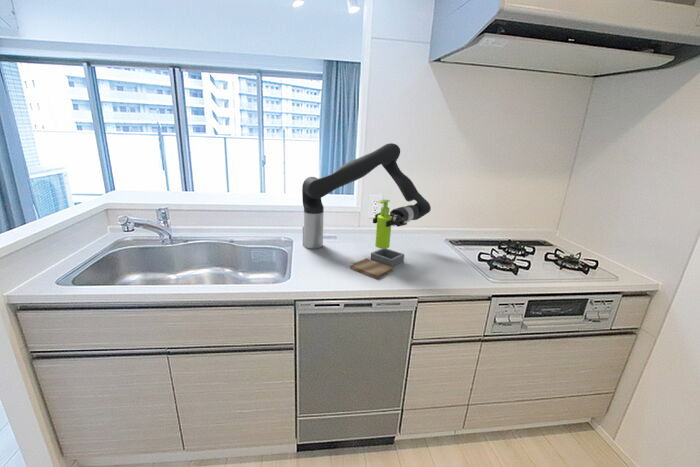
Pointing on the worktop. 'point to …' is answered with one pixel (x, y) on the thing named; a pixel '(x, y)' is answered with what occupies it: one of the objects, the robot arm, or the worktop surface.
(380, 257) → the tray
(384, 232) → the soap dispenser
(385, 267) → the board
